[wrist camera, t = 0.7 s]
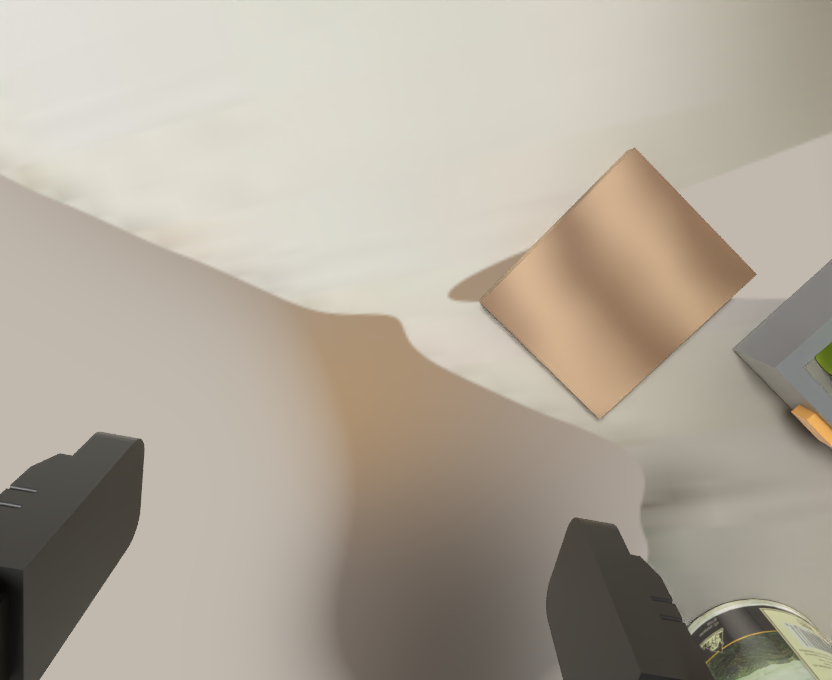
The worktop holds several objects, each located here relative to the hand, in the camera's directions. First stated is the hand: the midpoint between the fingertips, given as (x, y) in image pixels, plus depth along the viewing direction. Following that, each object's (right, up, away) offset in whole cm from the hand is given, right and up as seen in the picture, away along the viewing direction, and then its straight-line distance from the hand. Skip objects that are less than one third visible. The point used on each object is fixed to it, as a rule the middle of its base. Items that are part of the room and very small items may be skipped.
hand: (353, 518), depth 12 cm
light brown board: (+13, +7, +26) cm, 30 cm away
